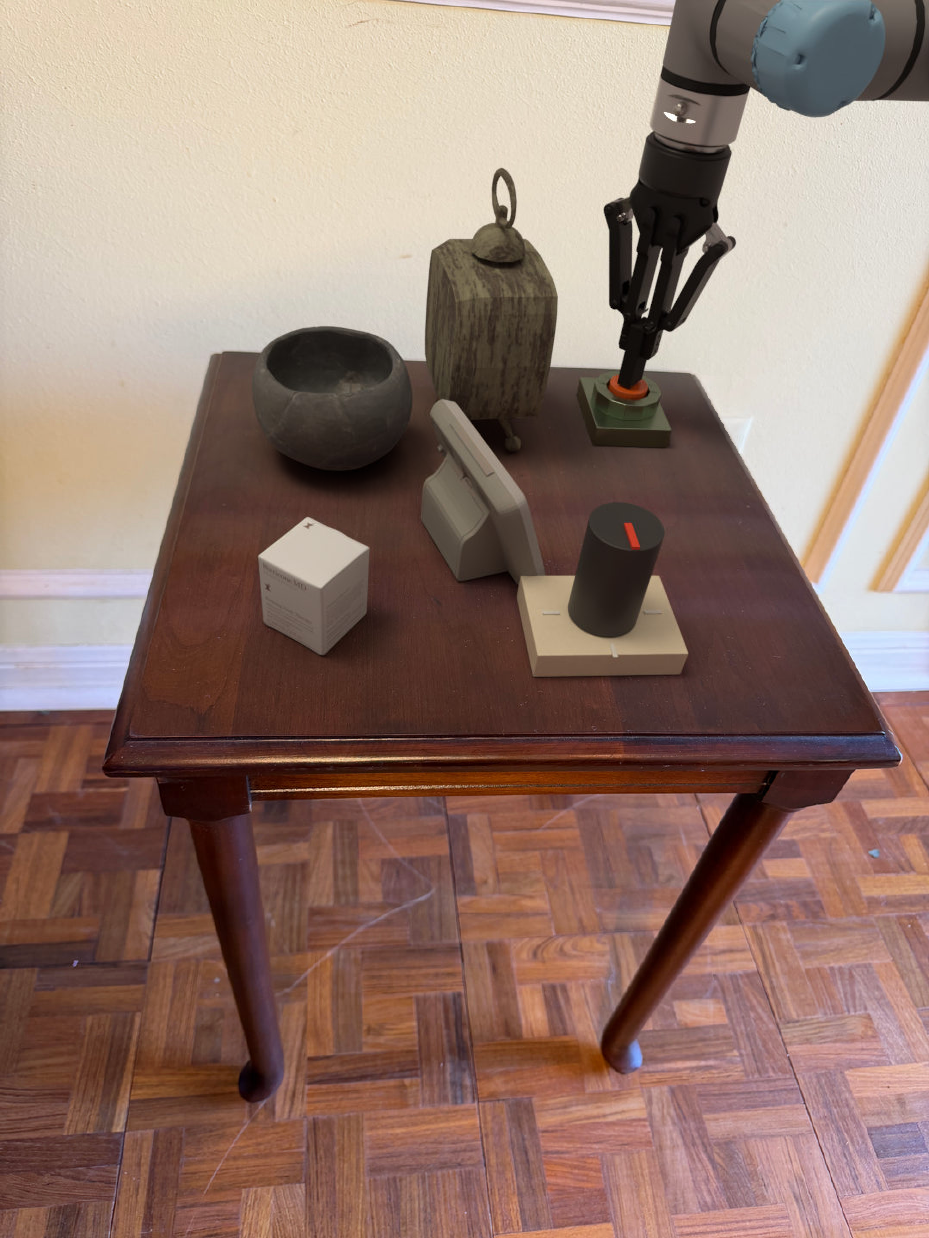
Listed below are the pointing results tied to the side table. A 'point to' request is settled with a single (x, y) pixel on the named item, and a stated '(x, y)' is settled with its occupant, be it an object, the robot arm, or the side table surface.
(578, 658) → the dial panel
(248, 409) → the side table surface
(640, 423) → the button block
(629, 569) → the dial
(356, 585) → the product box
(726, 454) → the side table surface
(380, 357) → the bowl
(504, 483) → the digital clock
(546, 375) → the tabletop clock
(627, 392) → the push button
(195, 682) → the side table surface
